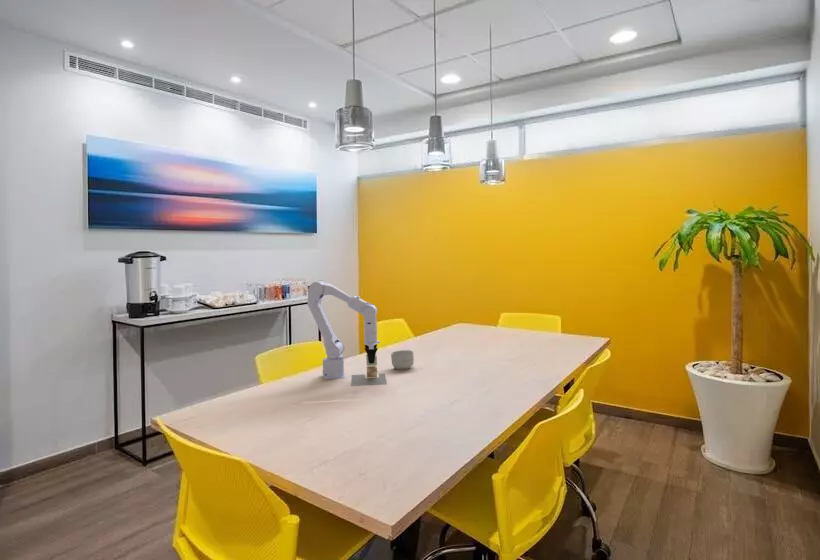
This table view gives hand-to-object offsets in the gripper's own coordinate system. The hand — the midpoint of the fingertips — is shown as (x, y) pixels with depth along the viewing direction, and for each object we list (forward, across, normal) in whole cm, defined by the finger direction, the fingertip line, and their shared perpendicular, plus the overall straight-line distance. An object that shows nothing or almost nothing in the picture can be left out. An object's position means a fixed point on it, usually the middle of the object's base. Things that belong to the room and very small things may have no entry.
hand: (371, 361), depth 211 cm
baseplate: (+7, -5, +2) cm, 9 cm away
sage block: (+1, 0, 0) cm, 1 cm away
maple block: (+6, 0, 0) cm, 6 cm away
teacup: (+7, +14, -16) cm, 22 cm away
